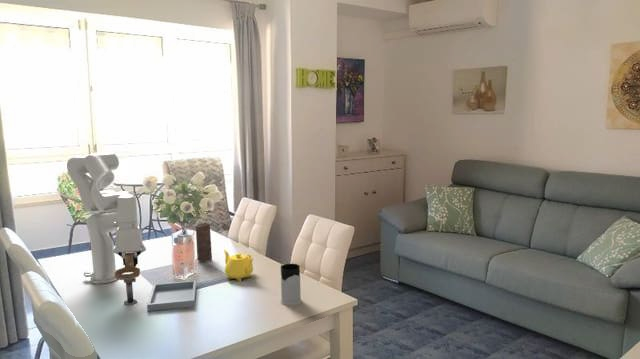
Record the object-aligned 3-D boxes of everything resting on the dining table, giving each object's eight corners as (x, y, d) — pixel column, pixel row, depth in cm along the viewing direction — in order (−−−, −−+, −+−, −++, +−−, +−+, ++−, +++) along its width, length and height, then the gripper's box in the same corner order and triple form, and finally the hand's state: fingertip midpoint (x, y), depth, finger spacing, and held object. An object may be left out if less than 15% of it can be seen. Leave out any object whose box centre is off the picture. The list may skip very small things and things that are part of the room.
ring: (113, 280, 190) (112, 263, 189) (120, 267, 205) (119, 251, 204) (137, 278, 192) (136, 262, 191) (143, 265, 207) (142, 250, 206)
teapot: (267, 276, 225) (266, 253, 223) (244, 286, 213) (243, 261, 212) (237, 267, 237) (236, 245, 235) (214, 276, 225) (213, 253, 224)
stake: (123, 305, 194) (121, 281, 193) (125, 300, 199) (123, 277, 198) (136, 304, 195) (134, 280, 194) (138, 299, 200) (136, 276, 199)
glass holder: (285, 307, 191) (284, 271, 189) (272, 295, 203) (271, 261, 201) (305, 303, 195) (304, 268, 192) (291, 291, 207) (290, 258, 205)
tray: (147, 312, 188) (146, 304, 188) (154, 290, 210) (153, 284, 209) (194, 307, 192) (194, 300, 192) (196, 286, 213) (196, 280, 213)
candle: (208, 263, 243) (206, 225, 240) (194, 263, 245) (192, 225, 241) (214, 258, 251) (212, 221, 247) (201, 258, 252) (199, 221, 249)
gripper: (105, 227, 195) (108, 270, 198) (147, 225, 198) (149, 267, 201) (109, 223, 202) (112, 264, 205) (149, 221, 205) (152, 261, 209)
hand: (130, 265), depth 203 cm, fingers closed on ring, 2 cm apart
